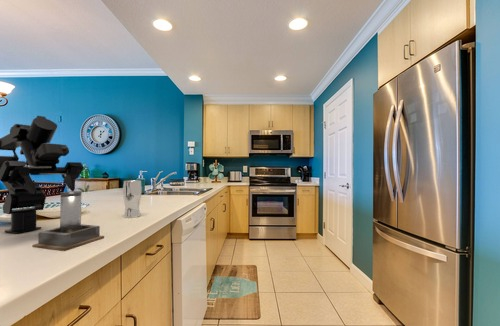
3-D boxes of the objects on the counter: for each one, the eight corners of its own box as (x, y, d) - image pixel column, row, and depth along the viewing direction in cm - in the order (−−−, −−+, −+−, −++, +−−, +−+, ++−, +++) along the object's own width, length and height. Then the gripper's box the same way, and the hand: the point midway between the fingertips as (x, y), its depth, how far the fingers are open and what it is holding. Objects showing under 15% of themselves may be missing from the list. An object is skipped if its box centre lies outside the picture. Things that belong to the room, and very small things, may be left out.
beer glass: (133, 218, 93) (134, 181, 94) (118, 217, 95) (119, 181, 95) (144, 215, 100) (145, 180, 101) (130, 214, 102) (131, 180, 102)
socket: (32, 247, 59) (32, 232, 59) (75, 235, 70) (75, 223, 70) (64, 251, 56) (64, 236, 56) (104, 238, 67) (104, 225, 67)
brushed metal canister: (60, 239, 63) (61, 192, 64) (80, 236, 66) (81, 191, 67) (59, 243, 60) (60, 193, 60) (80, 240, 63) (81, 192, 63)
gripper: (4, 130, 61) (23, 172, 56) (81, 138, 78) (101, 171, 73) (-10, 160, 64) (7, 202, 59) (67, 162, 81) (85, 195, 76)
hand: (55, 191), depth 67 cm, fingers open, 9 cm apart
